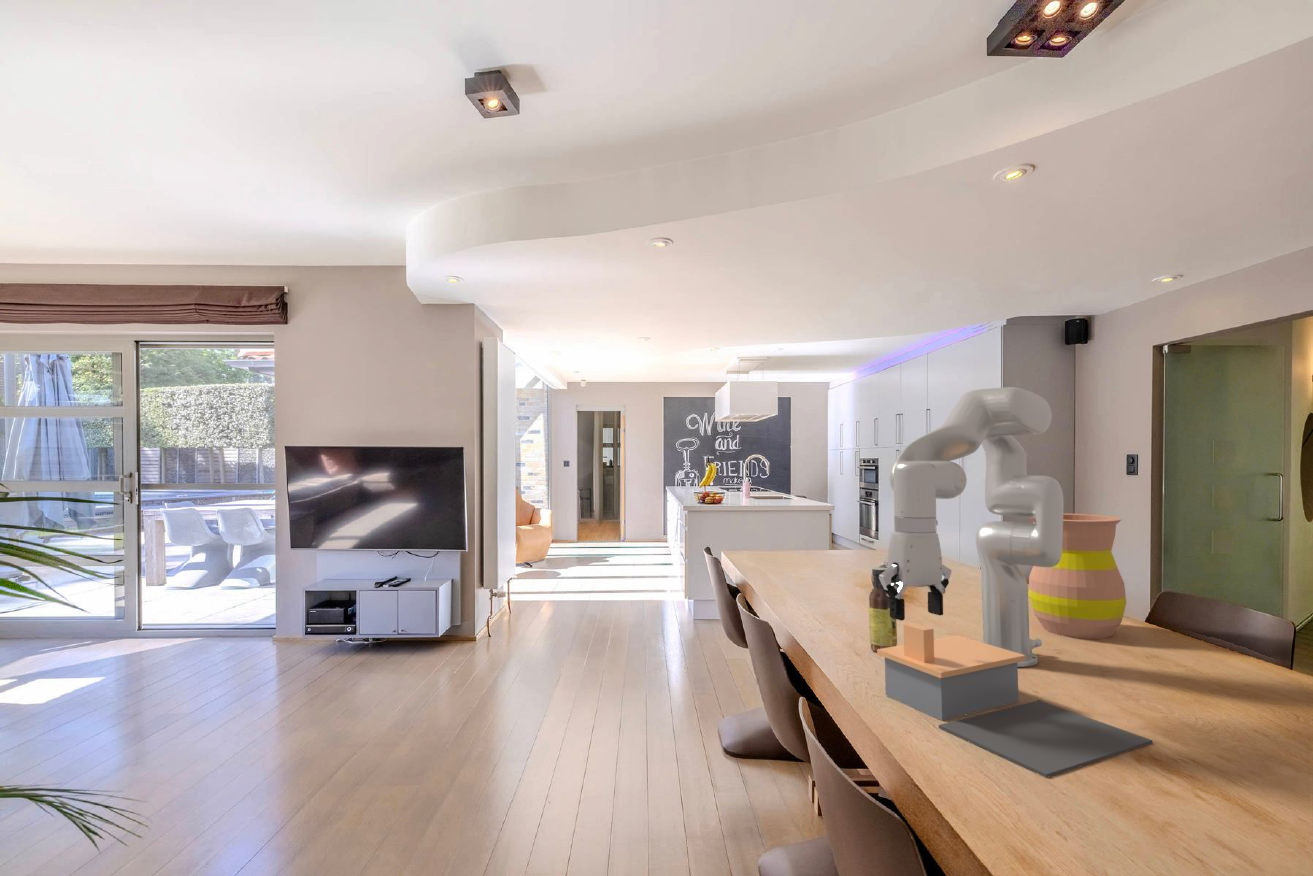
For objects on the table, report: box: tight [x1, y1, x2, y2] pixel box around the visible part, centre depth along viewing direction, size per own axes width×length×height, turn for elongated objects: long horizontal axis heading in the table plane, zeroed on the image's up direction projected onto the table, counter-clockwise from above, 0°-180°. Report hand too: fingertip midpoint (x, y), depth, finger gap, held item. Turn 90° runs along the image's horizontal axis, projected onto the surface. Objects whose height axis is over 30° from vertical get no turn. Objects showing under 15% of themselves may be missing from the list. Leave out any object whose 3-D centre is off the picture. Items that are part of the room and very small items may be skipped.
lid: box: [876, 622, 1026, 678], centre depth 131 cm, size 22×16×8 cm
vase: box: [1028, 513, 1127, 640], centre depth 177 cm, size 22×22×30 cm
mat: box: [938, 699, 1154, 778], centre depth 113 cm, size 26×20×1 cm
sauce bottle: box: [868, 567, 898, 653], centre depth 163 cm, size 7×6×20 cm
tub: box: [884, 657, 1020, 721], centre depth 131 cm, size 20×14×8 cm
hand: (916, 616), depth 127 cm, fingers open, 9 cm apart
